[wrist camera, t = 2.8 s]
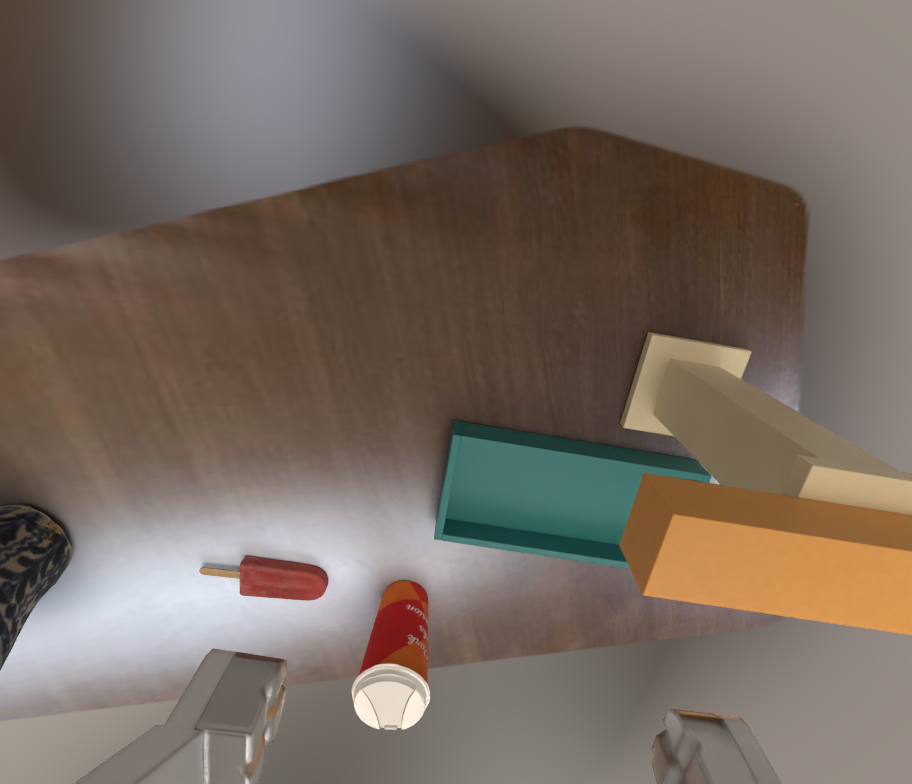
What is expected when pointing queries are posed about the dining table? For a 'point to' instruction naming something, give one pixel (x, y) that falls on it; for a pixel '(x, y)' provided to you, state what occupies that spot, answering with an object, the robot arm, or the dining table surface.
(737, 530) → the orange rectangular bar
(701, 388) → the stand
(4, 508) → the jug
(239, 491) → the dining table surface
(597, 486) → the tray
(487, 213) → the dining table surface
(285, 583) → the popsicle
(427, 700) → the paper cup
